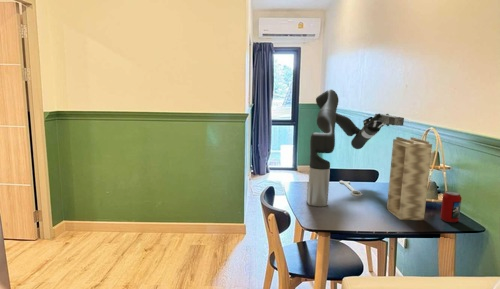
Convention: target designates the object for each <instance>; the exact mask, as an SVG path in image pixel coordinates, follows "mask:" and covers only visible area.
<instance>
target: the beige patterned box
mask: <svg viewBox="0 0 500 289" xmlns="http://www.w3.org/2000/svg"><path fill="white" fill-rule="evenodd" d="M432 150H433V144H432V143H430V141H427V140H424V139H421V138H417V137H414V136H413V137H411V136H410V139H407V138H403V137H399V136H396V138H393V140H392V148H391V161H390V169H389V170H390V171H389V179H388V180H389V182H388V192H387V201H386V204H387V205H386V210H387V211H388V212H389V213H391V214H392V215H393V216H394V217H396V218H397V219H399V220H400V221H424V220H425V213H426V202H427V196H428V195H427V194H428V187H429V186H428V184H429V176H430V167H431V166H430V165H431V158H432Z"/></svg>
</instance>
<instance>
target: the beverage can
mask: <svg viewBox="0 0 500 289" xmlns="http://www.w3.org/2000/svg"><path fill="white" fill-rule="evenodd" d="M441 200H442V201H441V206H440V208H441V209H440V219H441V220H443V221H444V222H447V223H456V222H459V220H460V214H461V206H462V196H461V193H460V192H458V191H455V190H454V191H452V190H445V191H444V193H443V194H442V199H441Z"/></svg>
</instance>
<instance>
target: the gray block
mask: <svg viewBox="0 0 500 289" xmlns="http://www.w3.org/2000/svg"><path fill="white" fill-rule="evenodd" d="M377 114H378V113H375V114H374V116H376V115H377ZM379 114H380V116H381V117H380V119H379V120H377V121H378V122H382V123H386V124H389V126H390V125H391V126H396V127H397V126H404V121H405V117H401V116H394V115H390V114H389V115H386V113H379Z"/></svg>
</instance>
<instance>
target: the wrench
mask: <svg viewBox="0 0 500 289" xmlns="http://www.w3.org/2000/svg"><path fill="white" fill-rule="evenodd" d="M339 184H341V185H344V186H345V187H346V188H348V190H349V191H350V195H351V196H354V197H355V196H356V197H361V196H363V193H362V192H361V191H359V190H356V189H355V188H354V187H352V186H351V185H350V184H351V181H344V180H339Z"/></svg>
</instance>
